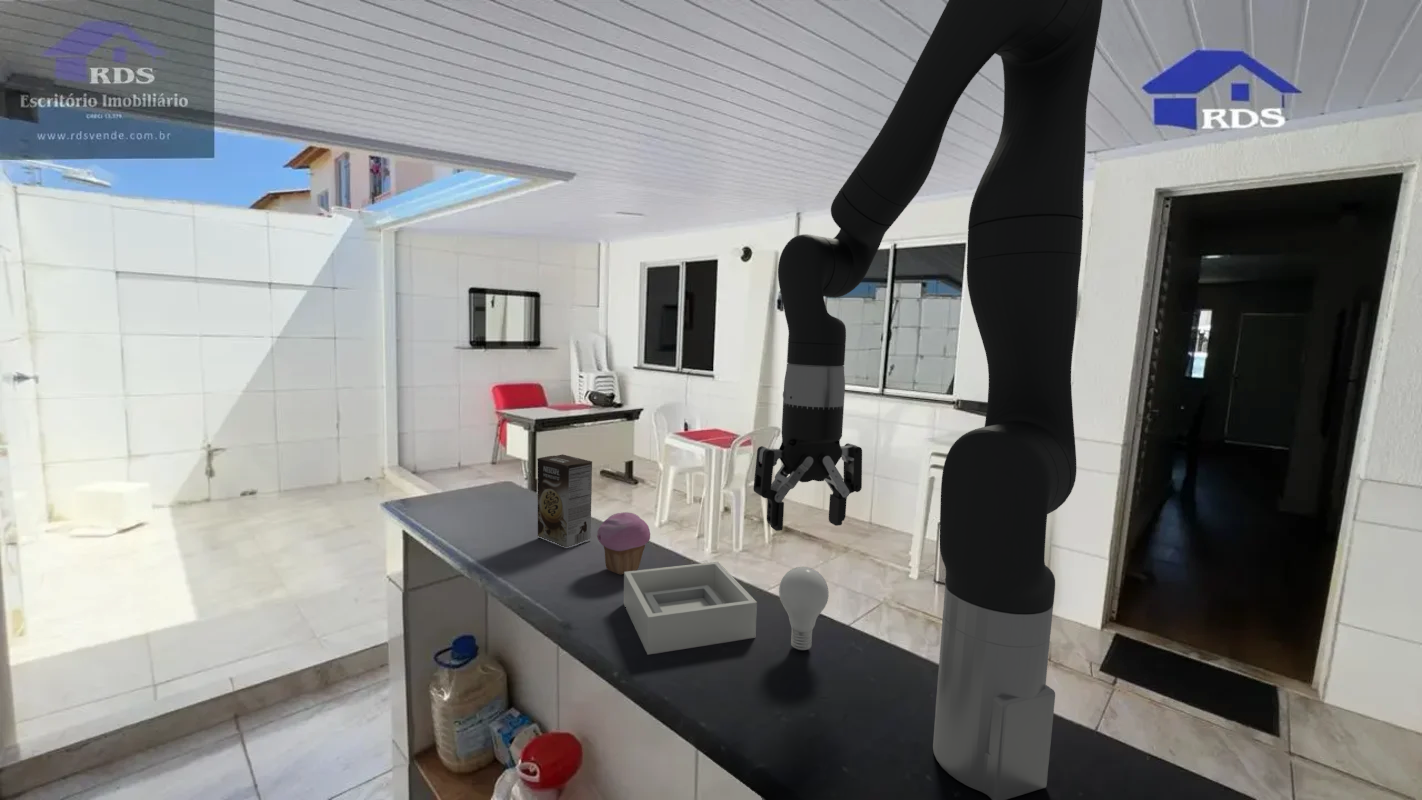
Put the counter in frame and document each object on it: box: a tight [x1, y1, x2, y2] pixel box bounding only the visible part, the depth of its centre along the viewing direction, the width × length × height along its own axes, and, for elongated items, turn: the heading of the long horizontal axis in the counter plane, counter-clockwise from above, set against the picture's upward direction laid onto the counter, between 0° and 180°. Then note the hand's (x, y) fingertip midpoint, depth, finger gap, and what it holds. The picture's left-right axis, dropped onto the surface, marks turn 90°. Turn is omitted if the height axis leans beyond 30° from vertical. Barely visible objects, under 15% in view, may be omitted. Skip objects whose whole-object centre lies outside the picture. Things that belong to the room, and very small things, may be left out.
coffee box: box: [536, 453, 593, 547], centre depth 115 cm, size 9×6×16 cm
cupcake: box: [596, 511, 651, 575], centre depth 102 cm, size 9×9×10 cm
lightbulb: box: [778, 566, 830, 652], centre depth 77 cm, size 6×6×11 cm
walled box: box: [623, 561, 758, 656], centre depth 85 cm, size 15×15×5 cm
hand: (806, 526), depth 76 cm, fingers open, 8 cm apart
